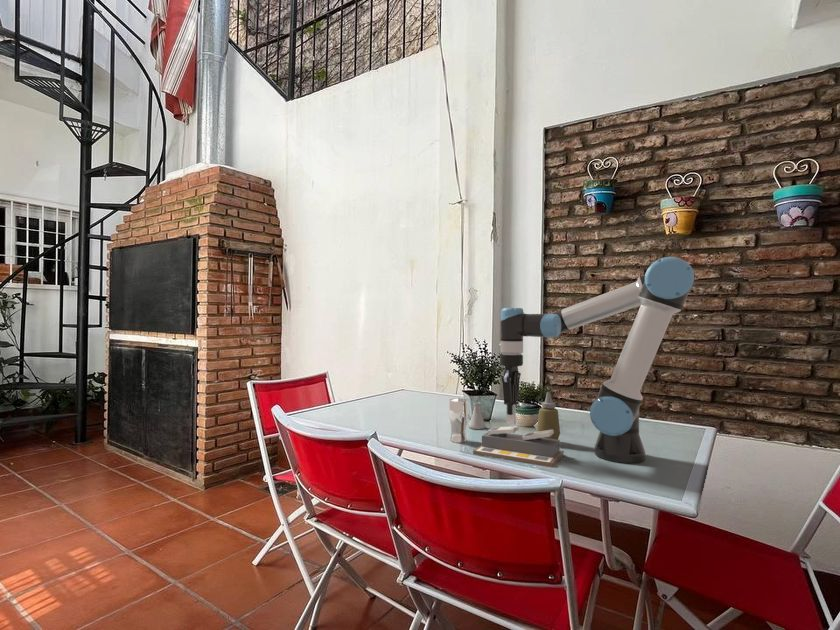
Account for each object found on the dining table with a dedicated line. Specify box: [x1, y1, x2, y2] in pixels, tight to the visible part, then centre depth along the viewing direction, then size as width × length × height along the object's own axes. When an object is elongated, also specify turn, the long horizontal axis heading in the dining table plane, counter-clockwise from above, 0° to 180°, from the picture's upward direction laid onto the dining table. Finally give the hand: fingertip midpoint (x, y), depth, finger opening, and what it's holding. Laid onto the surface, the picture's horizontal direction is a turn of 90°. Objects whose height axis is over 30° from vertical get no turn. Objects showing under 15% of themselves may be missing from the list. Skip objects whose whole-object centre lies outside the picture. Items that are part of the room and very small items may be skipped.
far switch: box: [487, 425, 519, 434], centre depth 156 cm, size 9×5×1 cm, turn 60°
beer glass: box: [448, 397, 469, 444], centre depth 167 cm, size 7×7×15 cm
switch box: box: [472, 432, 565, 468], centre depth 151 cm, size 26×14×6 cm, turn 60°
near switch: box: [522, 429, 554, 440], centre depth 150 cm, size 9×5×1 cm, turn 60°
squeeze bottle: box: [536, 392, 561, 440], centre depth 165 cm, size 8×8×18 cm
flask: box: [468, 402, 487, 430], centre depth 187 cm, size 7×7×10 cm
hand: (511, 423), depth 154 cm, fingers closed
